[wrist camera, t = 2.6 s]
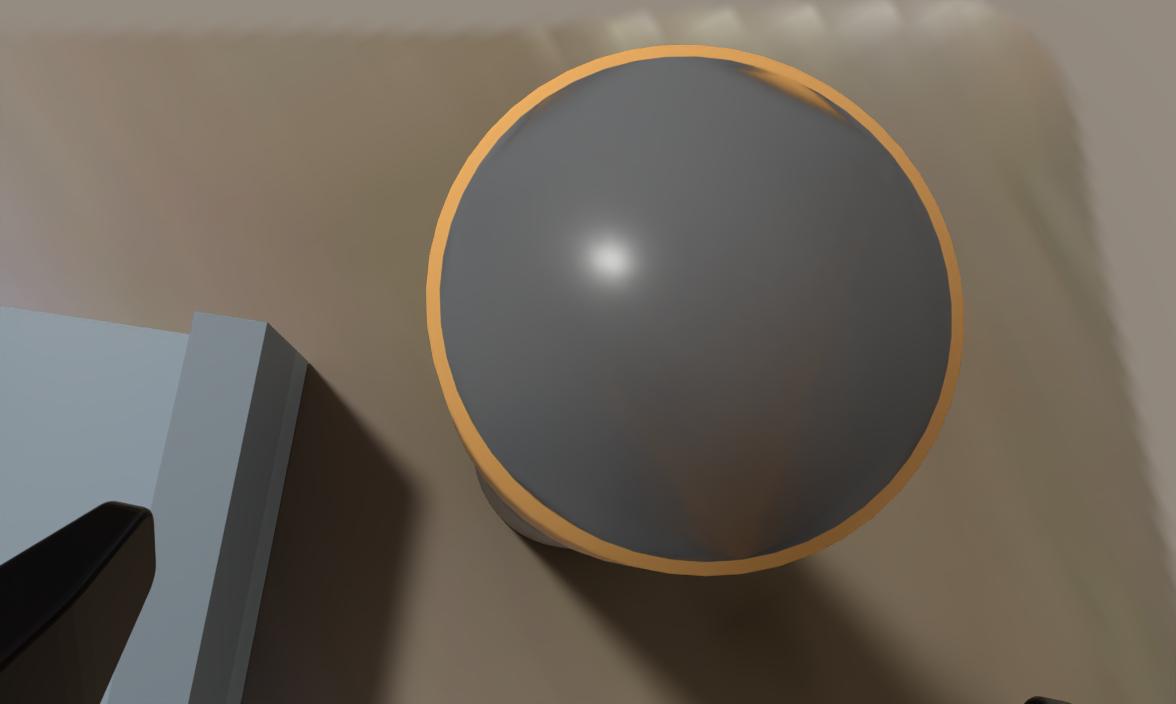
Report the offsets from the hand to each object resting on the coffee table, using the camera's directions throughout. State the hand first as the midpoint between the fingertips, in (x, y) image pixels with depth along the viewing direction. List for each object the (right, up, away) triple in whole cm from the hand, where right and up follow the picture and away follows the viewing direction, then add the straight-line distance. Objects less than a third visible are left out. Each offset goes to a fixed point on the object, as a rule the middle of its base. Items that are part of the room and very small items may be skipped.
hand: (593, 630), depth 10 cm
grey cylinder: (0, +1, +10) cm, 10 cm away
